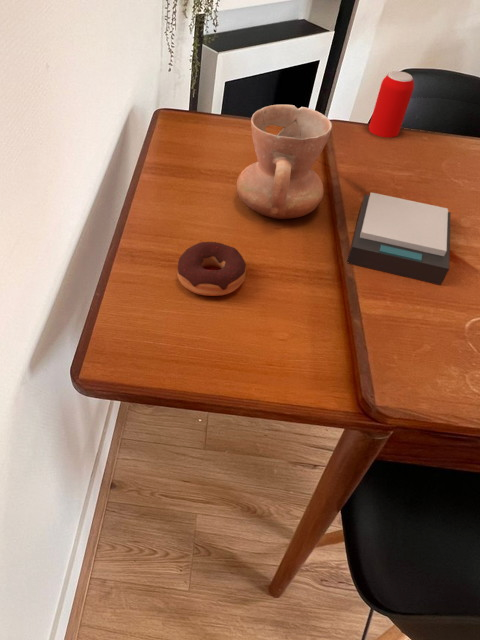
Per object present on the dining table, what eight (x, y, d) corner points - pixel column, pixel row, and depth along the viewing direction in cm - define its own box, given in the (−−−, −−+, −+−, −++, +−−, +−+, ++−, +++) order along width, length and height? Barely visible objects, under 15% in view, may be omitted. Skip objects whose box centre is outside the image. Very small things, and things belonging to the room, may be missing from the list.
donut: (212, 249, 81) (214, 227, 78) (259, 281, 76) (263, 259, 73) (162, 275, 76) (162, 252, 73) (208, 311, 71) (210, 288, 68)
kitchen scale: (441, 285, 78) (452, 263, 75) (346, 263, 80) (353, 240, 77) (443, 228, 88) (453, 206, 85) (359, 210, 90) (366, 188, 87)
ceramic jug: (244, 174, 97) (254, 91, 86) (323, 187, 95) (343, 105, 84) (224, 227, 85) (232, 139, 74) (313, 243, 83) (335, 156, 72)
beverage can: (392, 132, 112) (412, 70, 103) (399, 145, 108) (420, 82, 99) (364, 130, 112) (381, 68, 103) (369, 143, 107) (388, 80, 98)
